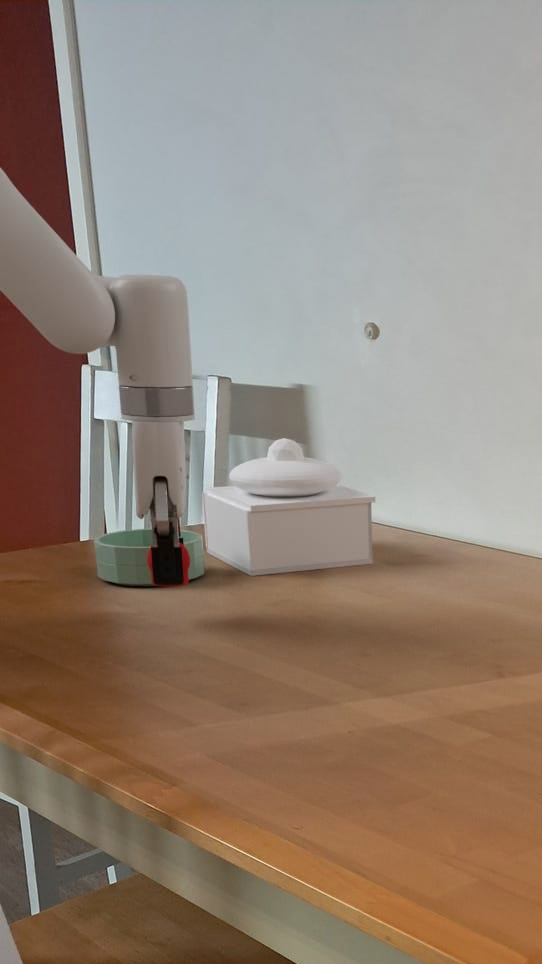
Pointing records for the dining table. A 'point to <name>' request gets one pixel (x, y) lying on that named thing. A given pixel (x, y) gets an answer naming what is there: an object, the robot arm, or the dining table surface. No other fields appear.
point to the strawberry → (185, 565)
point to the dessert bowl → (139, 556)
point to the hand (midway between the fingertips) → (169, 577)
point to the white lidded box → (287, 516)
